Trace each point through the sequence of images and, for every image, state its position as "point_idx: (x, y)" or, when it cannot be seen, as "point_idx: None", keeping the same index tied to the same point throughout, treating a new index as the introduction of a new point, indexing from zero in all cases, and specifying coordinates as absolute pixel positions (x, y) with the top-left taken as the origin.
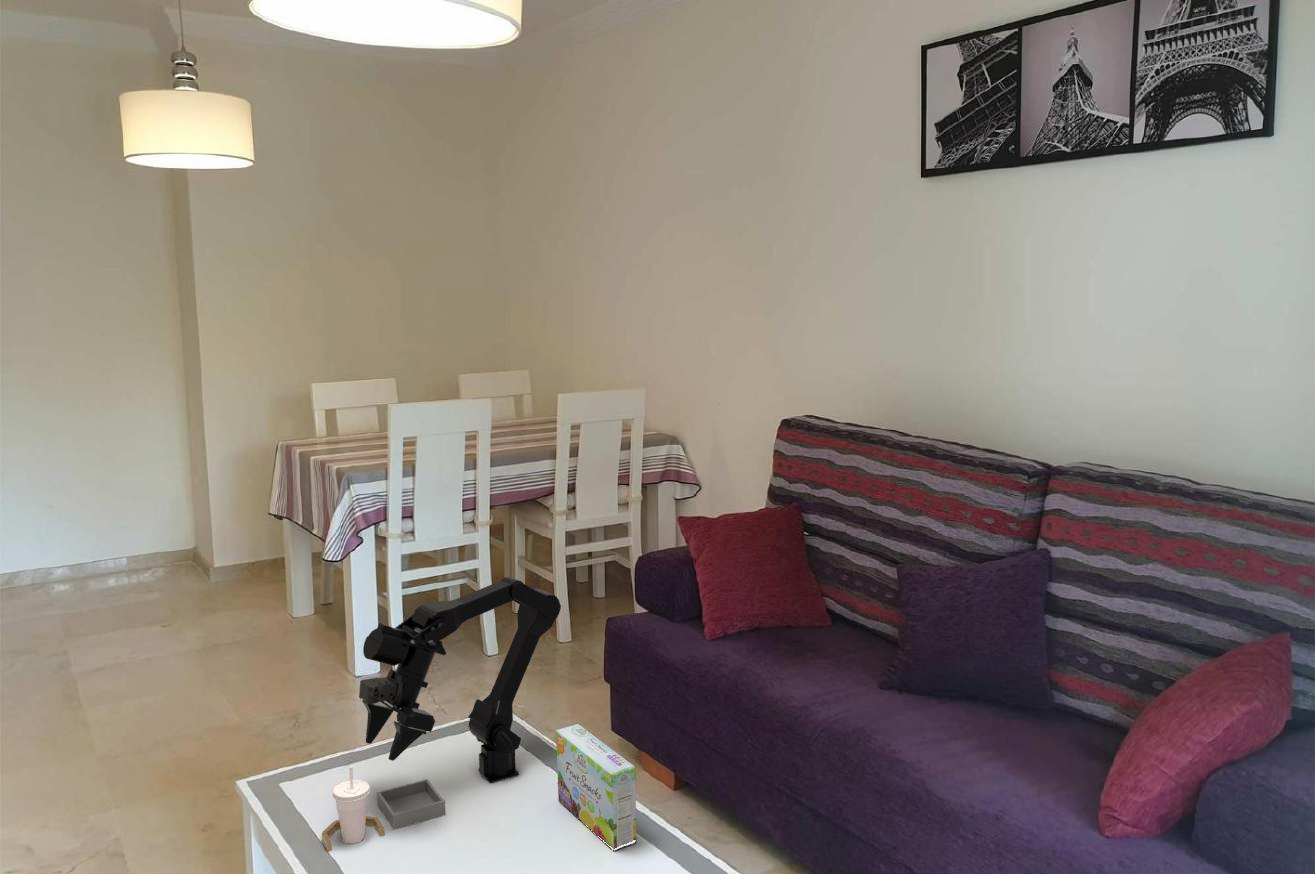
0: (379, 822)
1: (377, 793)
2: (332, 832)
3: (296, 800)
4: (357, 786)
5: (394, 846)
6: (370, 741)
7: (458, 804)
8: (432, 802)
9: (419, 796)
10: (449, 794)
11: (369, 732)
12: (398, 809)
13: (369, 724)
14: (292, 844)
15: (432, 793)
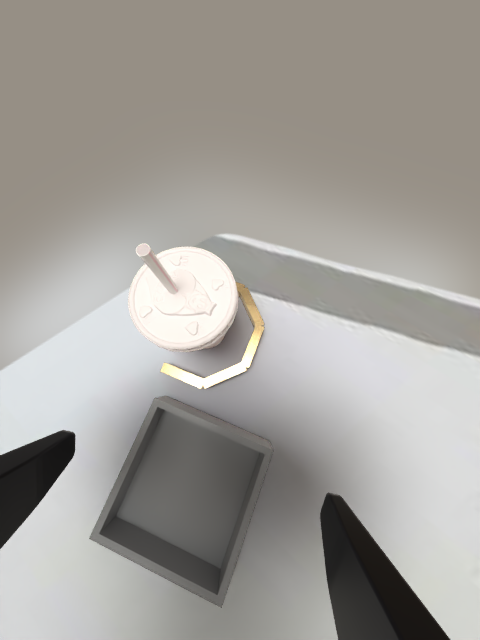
0: (184, 377)
1: (269, 448)
2: (247, 312)
3: (417, 347)
4: (170, 308)
5: (120, 356)
6: (324, 519)
7: (116, 578)
8: (165, 533)
9: (214, 534)
10: (170, 605)
11: (353, 558)
12: (208, 453)
13: (407, 636)
14: (275, 257)
15: (170, 557)
